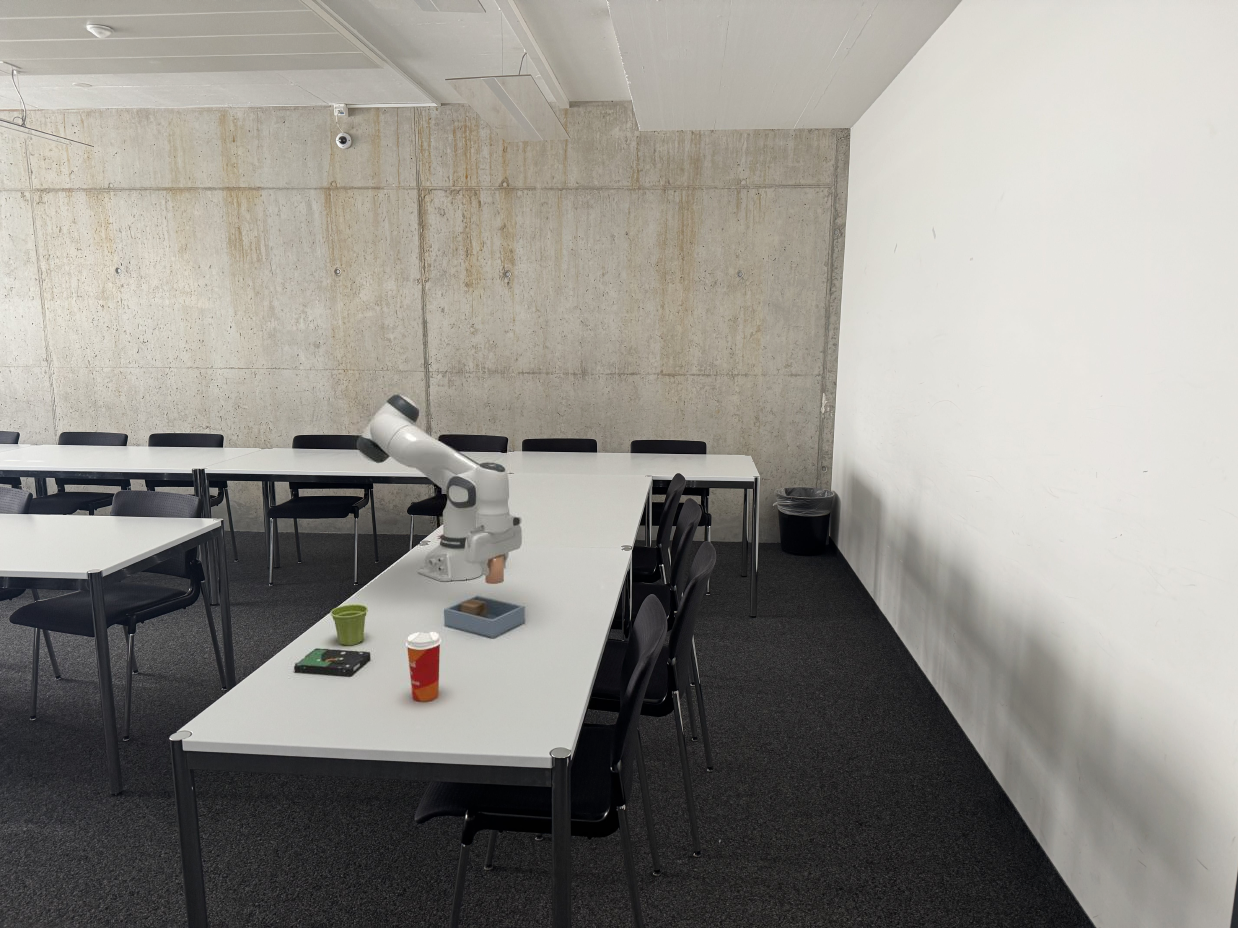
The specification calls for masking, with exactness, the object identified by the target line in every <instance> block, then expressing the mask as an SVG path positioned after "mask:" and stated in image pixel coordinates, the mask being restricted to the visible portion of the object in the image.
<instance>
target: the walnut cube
mask: <svg viewBox="0 0 1238 928" xmlns="http://www.w3.org/2000/svg"><path fill="white" fill-rule="evenodd" d="M461 612H463V613H467V614H471V615H476V616H480V617H484V618H487V609H486V602H483V601H479V600H474V599H472V600H470V601H467V602H465V603H462V604H461Z"/></svg>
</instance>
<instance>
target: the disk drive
mask: <svg viewBox="0 0 1238 928" xmlns="http://www.w3.org/2000/svg"><path fill="white" fill-rule="evenodd" d="M371 660H372V659H371V652H370V651H363V650H362V651H359V650H344V649H331V648H318V647H317V648H314V649H313V650H311V651H310V652H309V653H307V654H306V655H305V656H304V657H303V658H301V659H300V660H299V661H297V662H295V663H294V666H293V671H294V673H295V674H304V675H305V674H308V675H317V676H318V675H319V676H320V675H321V676H332V677H341V678H342V677H344V678H345V677H346V678H351V677H353V676H354V675H355V674H356V673H358V672H359V671H360V670H361V669H362V668H364V667H365V666H366V665H367V664H368V663H369V662H370V661H371Z"/></svg>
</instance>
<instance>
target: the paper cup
mask: <svg viewBox="0 0 1238 928" xmlns="http://www.w3.org/2000/svg"><path fill="white" fill-rule="evenodd" d="M441 643H442V639H441V637H440V635H439V633H437V632H435V631H430V632H429V631H423V632H421V631H418V632H414V633H412V634H410V635H409V636H408V637H407V641H406V642H405V646H406V648H407V658H408V667H409V676H410V677H409V678H410V685H411V695H412V699H413V701H415V702H420V703H425V702H426V703H427V702H432V701H434V700H436V699H437V698H438V697H439V688H440V687H439V685H440V684H439V683H440V656H441V655H440V653H441V652H440V650H441V649H440V648H441Z"/></svg>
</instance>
